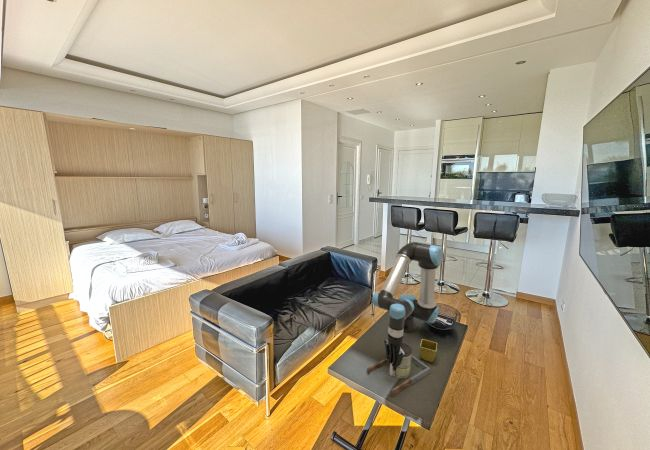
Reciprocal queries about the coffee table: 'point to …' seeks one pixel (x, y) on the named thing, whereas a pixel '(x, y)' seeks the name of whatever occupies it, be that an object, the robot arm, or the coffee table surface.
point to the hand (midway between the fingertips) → (392, 373)
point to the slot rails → (396, 389)
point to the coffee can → (404, 363)
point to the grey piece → (425, 368)
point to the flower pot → (428, 350)
